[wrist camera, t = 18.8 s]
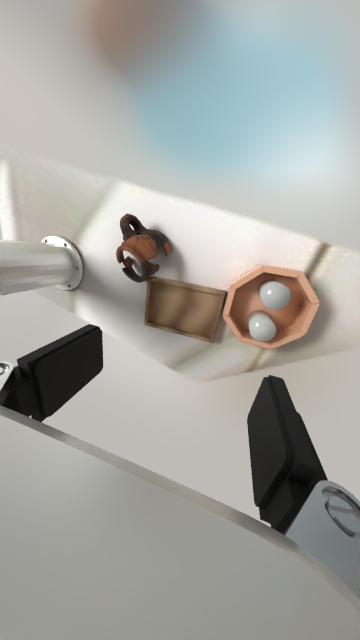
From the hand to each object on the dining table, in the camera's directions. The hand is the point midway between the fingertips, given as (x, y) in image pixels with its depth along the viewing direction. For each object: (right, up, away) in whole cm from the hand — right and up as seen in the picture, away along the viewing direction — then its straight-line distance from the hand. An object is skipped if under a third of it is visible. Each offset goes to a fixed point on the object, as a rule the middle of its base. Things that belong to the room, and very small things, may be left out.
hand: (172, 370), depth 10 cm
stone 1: (+17, +8, +22) cm, 29 cm away
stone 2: (+16, +3, +25) cm, 29 cm away
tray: (+1, +6, +29) cm, 29 cm away
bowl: (+17, +6, +24) cm, 30 cm away
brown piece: (-6, +18, +27) cm, 33 cm away
